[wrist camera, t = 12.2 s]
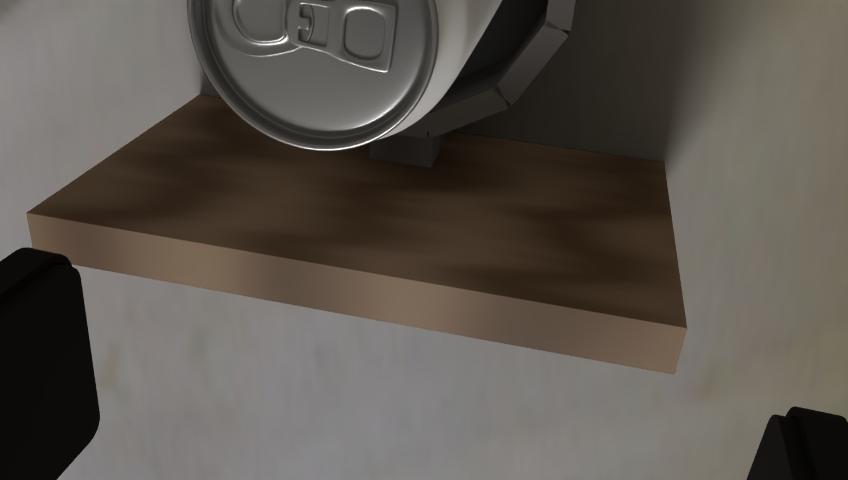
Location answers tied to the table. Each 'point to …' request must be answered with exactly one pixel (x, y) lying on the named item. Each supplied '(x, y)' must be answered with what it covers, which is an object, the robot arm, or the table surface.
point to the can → (334, 62)
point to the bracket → (401, 217)
